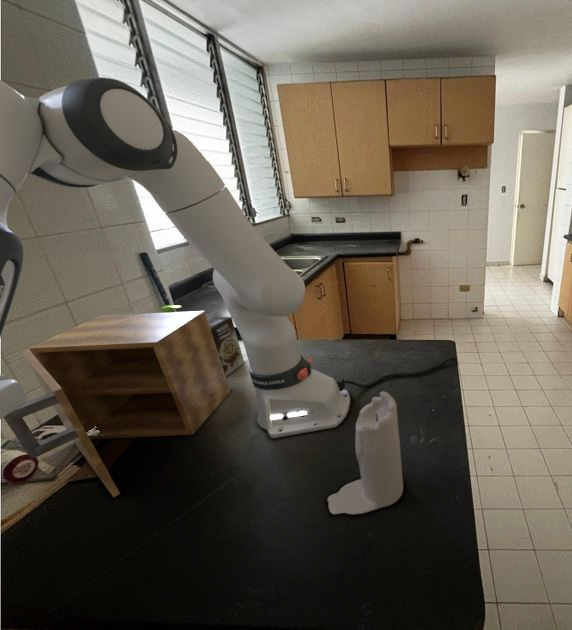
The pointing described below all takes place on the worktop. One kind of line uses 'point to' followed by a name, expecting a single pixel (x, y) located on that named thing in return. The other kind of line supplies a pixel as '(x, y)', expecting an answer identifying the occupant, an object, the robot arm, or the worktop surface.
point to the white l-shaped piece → (373, 461)
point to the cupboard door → (66, 415)
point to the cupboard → (138, 373)
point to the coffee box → (226, 343)
